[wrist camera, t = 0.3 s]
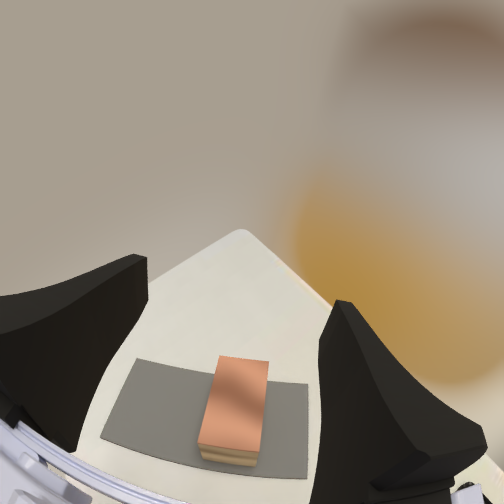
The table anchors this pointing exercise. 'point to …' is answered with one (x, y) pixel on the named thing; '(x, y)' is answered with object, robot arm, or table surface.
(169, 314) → the table surface
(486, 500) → the phone
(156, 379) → the rubber mat
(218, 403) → the oak block
